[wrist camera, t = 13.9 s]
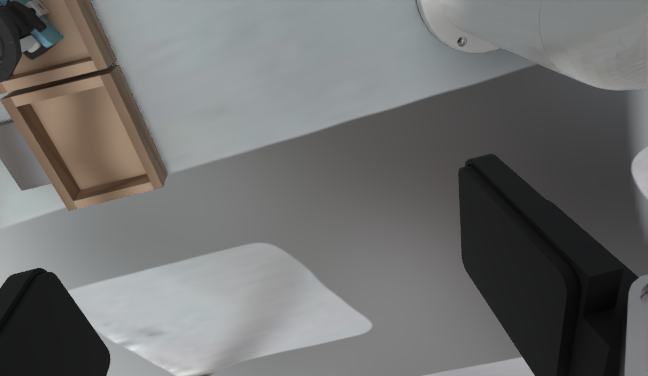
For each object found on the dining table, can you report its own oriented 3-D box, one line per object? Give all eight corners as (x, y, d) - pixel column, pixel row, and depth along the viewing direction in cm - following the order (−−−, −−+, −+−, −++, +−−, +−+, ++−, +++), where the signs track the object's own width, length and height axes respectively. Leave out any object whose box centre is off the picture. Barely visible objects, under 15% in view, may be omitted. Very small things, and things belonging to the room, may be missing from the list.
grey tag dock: (118, 64, 36) (109, 73, 34) (167, 173, 41) (162, 187, 39) (-30, 100, 35) (-48, 111, 33) (39, 205, 41) (27, 221, 39)
